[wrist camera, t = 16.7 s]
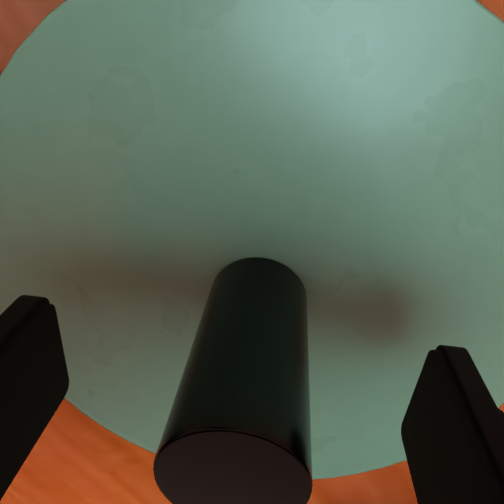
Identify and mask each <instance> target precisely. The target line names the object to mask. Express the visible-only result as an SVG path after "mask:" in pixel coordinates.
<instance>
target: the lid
mask: <svg viewBox="0 0 504 504" xmlns="http://www.w3.org/2000/svg"><path fill="white" fill-rule="evenodd" d="M21 295H30V296H39V297H45V298H47V299H48V300H49V302H50V304H53V305H54V306H55V308H56V313H57V318H58V323H59V329H60V334H61V339H62V344H63V350H64V355H65V360H66V365H67V371H68V376H69V388H68V391H67V393H66V395H65V397H64V398H65V399H66V400H67V401H69V402H70V403H71V404H72V405H74V406H75V407H76V408H77V409H78V410H80V411H81V412H82V413H84V414H85V415H87V416H88V417H89V418H91V419H92V420H94V421H95V422H97V423H98V424H100V425H101V426H103V427H104V428H106V429H107V430H109V431H111V432H113V433H115V434H116V435H118V436H120V437H122V438H124V439H125V440H127V441H129V442H131V443H133V444H135V445H137V446H140V447H142V448H144V449H146V450H148V451H151V452H153V453H155V454H156V456H155V460H154V467H153V471H154V477H155V480H156V483H157V485H158V487H159V489H160V491H161V492H162V493H163V494H164V496H165V497H166V498H167V499H168V500H169V501H170V502H171V503H173V504H306V503H307V502H308V500H309V498H310V495H311V492H312V479H323V478H332V477H339V476H346V475H353V474H358V473H362V472H367V471H371V470H375V469H379V468H383V467H387V466H390V465H393V464H396V463H399V462H402V461H405V460H407V458H406V454H405V450H404V446H403V442H402V437H401V425H402V421H403V419H404V416H405V413H406V411H407V408H408V405H409V403H410V400H411V397H412V395H413V392H414V389H415V386H416V384H417V381H418V378H419V376H420V373H421V370H422V368H423V365H424V362H425V360H426V357H427V354H428V352H429V351H430V350H436V348H437V347H438V346H439V345H448V346H456V347H464V348H466V349H467V351H468V352H469V354H470V356H471V358H472V360H473V362H474V364H475V365H476V367H477V369H478V371H479V373H480V375H481V377H482V379H483V381H484V383H485V385H486V387H487V388H488V390H489V392H490V394H491V396H492V398H493V400H494V402H495V404H496V406H497V408H499V407H500V406H501V405H502V404H503V403H504V22H503V21H502V19H500V18H499V17H498V16H496V15H495V14H494V13H492V12H491V11H490V10H489V9H487V8H486V7H485V6H483V5H482V4H481V3H479V2H478V1H477V0H66V1H64V2H63V3H62V4H61V5H59V6H58V7H57V8H56V9H54V10H53V11H52V12H51V13H49V14H48V15H47V16H46V17H45V18H44V19H43V21H42V22H41V23H40V24H39V25H38V26H37V27H36V28H35V30H34V31H33V32H32V33H31V34H30V35H29V36H28V37H27V38H26V40H25V41H24V42H23V43H22V44H21V45H20V46H19V47H18V48H17V50H16V52H15V53H14V55H13V56H12V58H11V59H10V61H9V63H8V64H7V66H6V67H5V69H4V71H3V72H2V74H1V75H0V315H1V314H2V313H3V312H4V311H5V310H6V309H7V308H8V307H9V306H10V305H11V304H12V303H13V302H14V301H15V300H16V299H17V298H18V297H19V296H21Z"/></svg>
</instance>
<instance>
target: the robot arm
mask: <svg viewBox="0 0 504 504" xmlns="http://www.w3.org/2000/svg"><path fill="white" fill-rule="evenodd" d="M68 388H69V376H68V371H67V365H66V360H65V355H64V350H63V344H62V339H61V334H60V329H59V323H58V318H57V313H56V308H55V306H54V305H53V304H50V302H49V300H48V299H47V298H45V297H39V296H30V295H21V296H19V297H18V298H17V299H16V300H15V301H14V302H13V303H12V304H11V305H10V306H9V307H8V308H7V309H6V310H5V311H4V312H3V313H2V314H1V315H0V500H1V498H2V497H3V495H4V494H5V492H6V490H7V489H8V487H9V486H10V484H11V482H12V481H13V479H14V478H15V476H16V474H17V473H18V471H19V469H20V468H21V466H22V465H23V463H24V461H25V460H26V458H27V457H28V455H29V453H30V452H31V450H32V449H33V447H34V445H35V444H36V442H37V440H38V439H39V437H40V436H41V434H42V432H43V431H44V429H45V428H46V426H47V424H48V423H49V421H50V420H51V418H52V416H53V415H54V413H55V411H56V410H57V408H58V407H59V405H60V403H61V402H62V400H63V399H64V397H65V395H66V393H67V391H68ZM401 437H402V442H403V446H404V450H405V454H406V458H407V462H408V466H409V470H410V474H411V478H412V482H413V486H414V490H415V493H416V497H417V501H418V504H504V413H503V412H502V411H501V410H500V409H498V408H497V406H496V404H495V402H494V400H493V398H492V396H491V394H490V392H489V390H488V388H487V387H486V385H485V383H484V381H483V379H482V377H481V375H480V373H479V371H478V369H477V367H476V365H475V364H474V362H473V360H472V358H471V356H470V354H469V352H468V351H467V349H466V348H464V347H456V346H448V345H439V346H438V347H437V348H436V350H430V351H429V352H428V354H427V357H426V360H425V362H424V365H423V368H422V370H421V373H420V376H419V378H418V381H417V384H416V386H415V389H414V392H413V395H412V397H411V400H410V403H409V405H408V408H407V411H406V413H405V416H404V419H403V421H402V425H401Z"/></svg>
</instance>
